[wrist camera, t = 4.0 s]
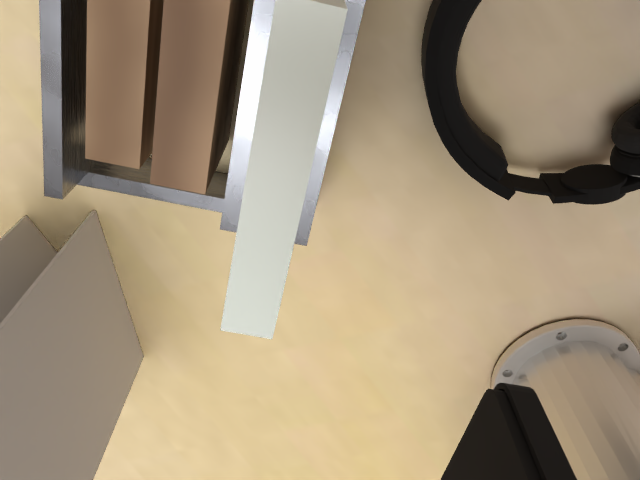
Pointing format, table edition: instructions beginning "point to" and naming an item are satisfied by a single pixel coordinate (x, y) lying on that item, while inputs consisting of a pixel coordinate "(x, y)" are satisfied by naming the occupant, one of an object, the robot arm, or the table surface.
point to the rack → (73, 169)
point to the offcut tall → (195, 90)
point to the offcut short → (122, 79)
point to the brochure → (61, 353)
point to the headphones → (485, 154)
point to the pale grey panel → (281, 158)
